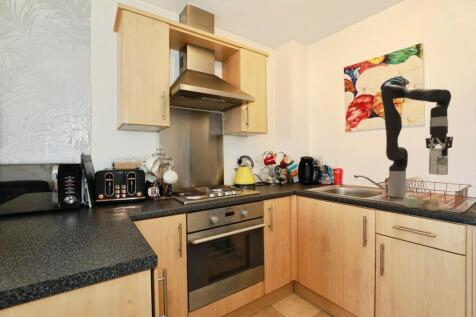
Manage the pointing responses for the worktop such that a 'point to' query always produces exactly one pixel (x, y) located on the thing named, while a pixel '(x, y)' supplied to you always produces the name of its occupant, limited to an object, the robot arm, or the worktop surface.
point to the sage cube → (411, 202)
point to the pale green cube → (417, 197)
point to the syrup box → (438, 162)
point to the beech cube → (429, 204)
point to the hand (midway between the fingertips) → (438, 156)
